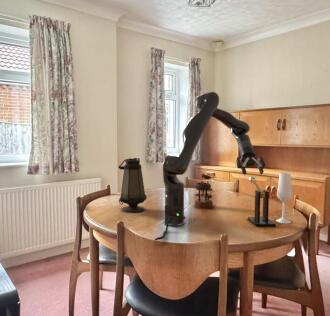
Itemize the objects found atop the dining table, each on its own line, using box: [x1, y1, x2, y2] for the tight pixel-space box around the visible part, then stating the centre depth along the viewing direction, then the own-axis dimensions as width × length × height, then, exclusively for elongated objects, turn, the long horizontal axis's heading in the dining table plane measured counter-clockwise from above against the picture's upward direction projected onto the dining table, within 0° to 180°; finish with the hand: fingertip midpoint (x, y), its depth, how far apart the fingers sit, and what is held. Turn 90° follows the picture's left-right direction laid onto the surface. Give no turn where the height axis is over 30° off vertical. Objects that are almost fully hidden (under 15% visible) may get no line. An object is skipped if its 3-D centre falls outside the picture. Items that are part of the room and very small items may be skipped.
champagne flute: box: [275, 172, 293, 224], centre depth 145 cm, size 7×7×24 cm
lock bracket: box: [247, 189, 277, 228], centre depth 143 cm, size 12×9×16 cm
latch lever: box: [248, 176, 265, 199], centre depth 149 cm, size 17×3×3 cm, turn 0°
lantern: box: [118, 157, 147, 214], centre depth 170 cm, size 18×15×30 cm
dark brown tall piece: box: [193, 173, 214, 210], centre depth 176 cm, size 15×11×20 cm
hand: (253, 173), depth 154 cm, fingers open, 8 cm apart
